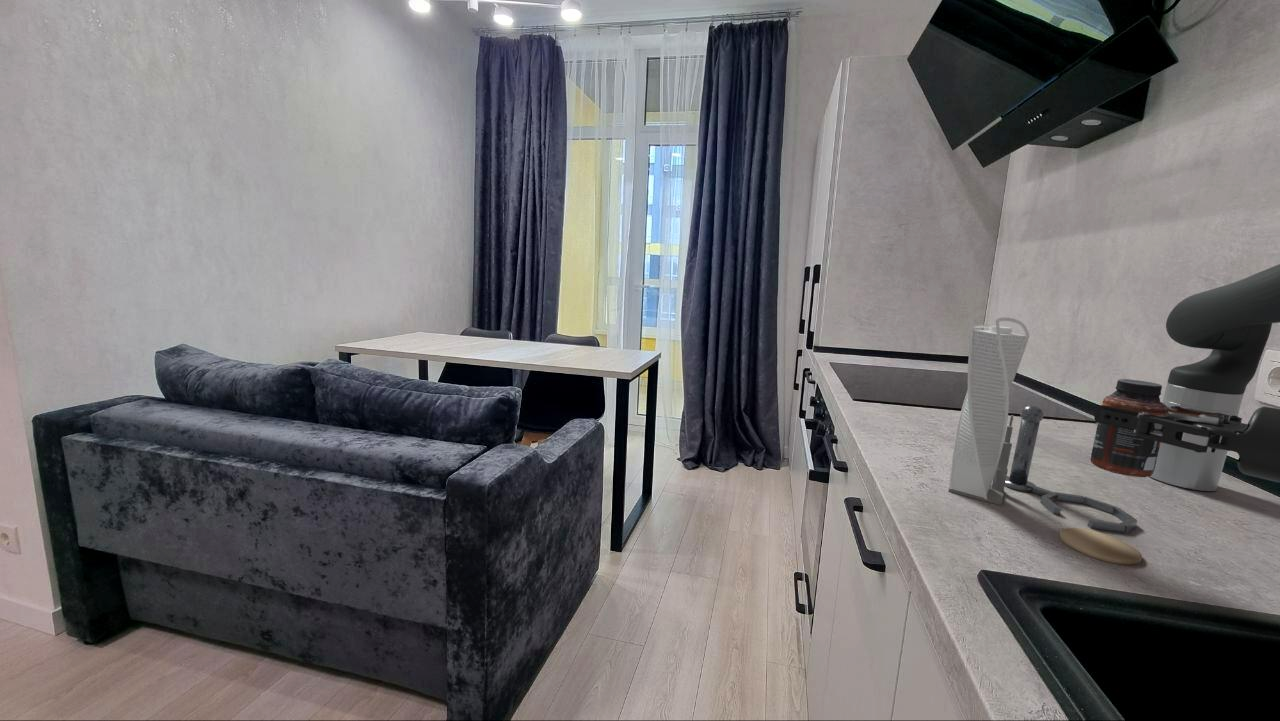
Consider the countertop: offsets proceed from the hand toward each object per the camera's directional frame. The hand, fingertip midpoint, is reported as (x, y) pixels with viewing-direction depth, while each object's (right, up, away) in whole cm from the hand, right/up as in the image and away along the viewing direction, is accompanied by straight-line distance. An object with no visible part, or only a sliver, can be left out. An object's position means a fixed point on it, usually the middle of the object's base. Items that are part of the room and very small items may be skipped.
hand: (1107, 410), depth 66 cm
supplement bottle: (+1, -8, -1) cm, 8 cm away
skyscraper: (-7, -15, +17) cm, 23 cm away
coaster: (0, -18, +1) cm, 18 cm away
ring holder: (+5, -16, +14) cm, 22 cm away
